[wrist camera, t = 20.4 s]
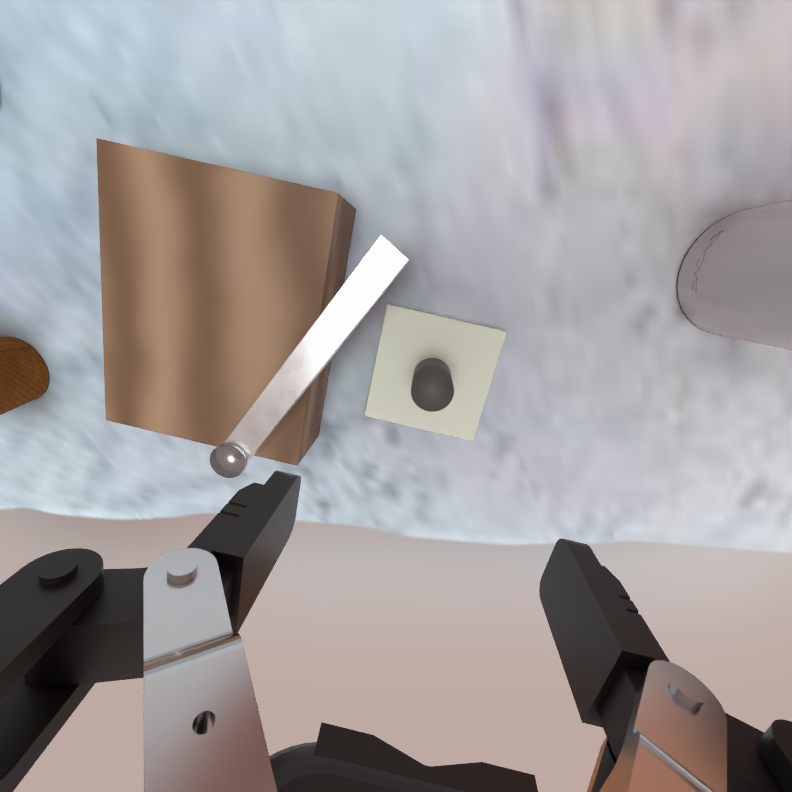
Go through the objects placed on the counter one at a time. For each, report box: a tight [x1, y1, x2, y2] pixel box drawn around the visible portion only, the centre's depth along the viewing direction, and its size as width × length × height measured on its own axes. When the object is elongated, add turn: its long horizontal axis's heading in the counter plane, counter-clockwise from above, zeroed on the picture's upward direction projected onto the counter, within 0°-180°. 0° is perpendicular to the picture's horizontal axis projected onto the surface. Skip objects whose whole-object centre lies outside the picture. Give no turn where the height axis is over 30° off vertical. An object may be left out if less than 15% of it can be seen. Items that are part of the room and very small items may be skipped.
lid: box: [364, 304, 507, 441], centre depth 31 cm, size 10×10×6 cm
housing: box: [97, 139, 356, 465], centre depth 29 cm, size 16×20×8 cm
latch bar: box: [210, 235, 409, 478], centre depth 25 cm, size 2×19×2 cm, turn 140°
